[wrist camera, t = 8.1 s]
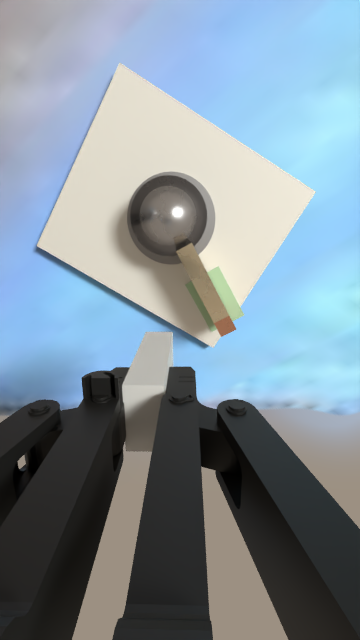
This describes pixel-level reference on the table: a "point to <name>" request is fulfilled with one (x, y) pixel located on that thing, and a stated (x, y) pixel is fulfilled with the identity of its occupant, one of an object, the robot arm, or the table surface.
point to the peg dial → (178, 234)
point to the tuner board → (183, 161)
